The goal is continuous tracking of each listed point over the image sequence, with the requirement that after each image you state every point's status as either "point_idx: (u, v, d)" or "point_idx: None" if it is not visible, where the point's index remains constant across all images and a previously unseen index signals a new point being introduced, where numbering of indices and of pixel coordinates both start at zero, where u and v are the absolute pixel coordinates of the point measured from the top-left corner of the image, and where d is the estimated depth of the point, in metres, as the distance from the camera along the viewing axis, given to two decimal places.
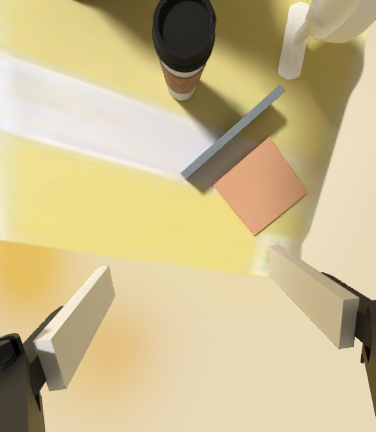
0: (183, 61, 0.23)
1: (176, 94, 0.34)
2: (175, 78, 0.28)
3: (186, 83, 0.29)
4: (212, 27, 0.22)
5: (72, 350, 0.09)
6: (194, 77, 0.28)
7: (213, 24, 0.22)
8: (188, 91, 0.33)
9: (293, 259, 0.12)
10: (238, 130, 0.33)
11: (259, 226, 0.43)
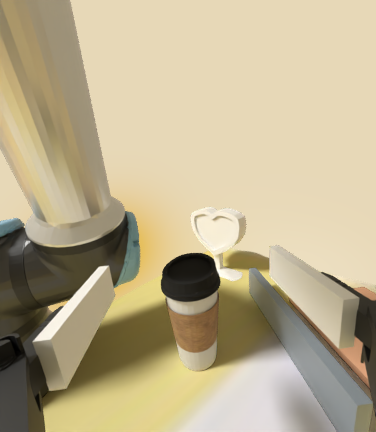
0: (212, 278, 0.23)
1: (209, 353, 0.25)
2: (209, 313, 0.23)
3: (216, 313, 0.24)
4: (205, 255, 0.27)
5: (72, 350, 0.09)
6: (218, 299, 0.25)
7: (203, 254, 0.27)
8: None
9: (293, 259, 0.12)
10: (282, 300, 0.28)
11: None
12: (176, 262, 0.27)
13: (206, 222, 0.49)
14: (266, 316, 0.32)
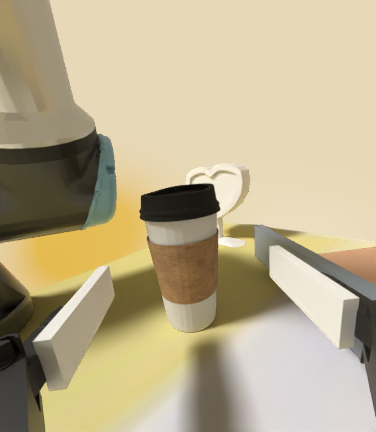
0: (209, 195, 0.16)
1: (206, 307, 0.18)
2: (205, 244, 0.16)
3: (215, 252, 0.18)
4: None
5: (72, 350, 0.09)
6: None
7: None
8: (216, 280, 0.19)
9: (293, 259, 0.12)
10: (300, 246, 0.22)
11: None
12: (163, 193, 0.21)
13: None
14: None
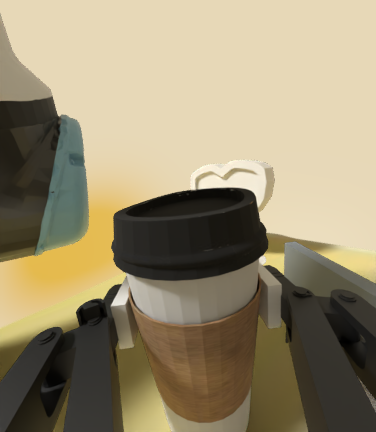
0: (252, 215, 0.08)
1: (238, 418, 0.10)
2: (244, 317, 0.08)
3: None
4: None
5: (134, 318, 0.10)
6: (258, 282, 0.10)
7: (218, 188, 0.12)
8: None
9: None
10: None
11: None
12: (159, 205, 0.12)
13: (213, 184, 0.34)
14: None
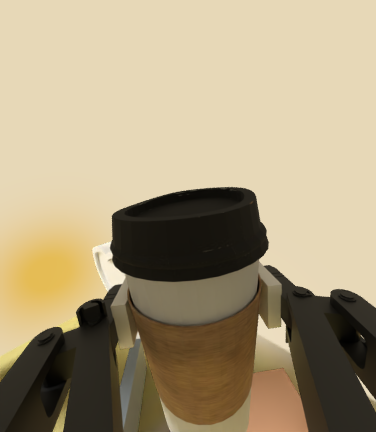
0: (252, 216, 0.08)
1: (238, 420, 0.10)
2: (244, 318, 0.08)
3: None
4: (221, 187, 0.12)
5: None
6: None
7: None
8: None
9: None
10: None
11: None
12: (158, 205, 0.12)
13: (106, 262, 0.38)
14: None
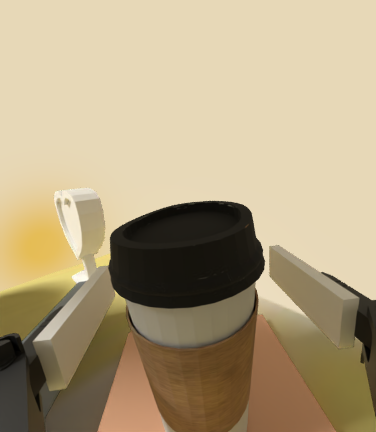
0: (248, 238, 0.08)
1: None
2: (240, 339, 0.08)
3: None
4: (219, 201, 0.12)
5: (72, 350, 0.09)
6: (255, 298, 0.10)
7: (216, 201, 0.12)
8: None
9: (293, 259, 0.12)
10: None
11: None
12: (157, 218, 0.12)
13: (66, 210, 0.33)
14: None
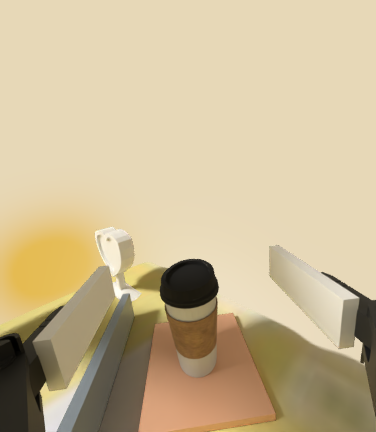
0: (210, 285, 0.23)
1: (208, 359, 0.25)
2: (207, 319, 0.23)
3: (215, 319, 0.25)
4: (203, 261, 0.27)
5: (72, 350, 0.09)
6: None
7: (202, 260, 0.28)
8: (216, 337, 0.26)
9: (293, 259, 0.12)
10: (110, 335, 0.28)
11: (258, 391, 0.23)
12: (175, 268, 0.28)
13: (105, 243, 0.48)
14: None
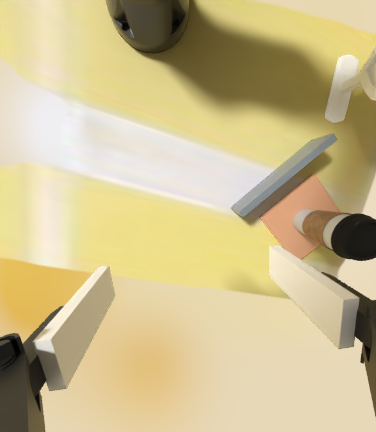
0: None
1: None
2: (330, 249, 0.35)
3: None
4: None
5: (72, 350, 0.09)
6: None
7: None
8: None
9: (293, 259, 0.12)
10: (293, 174, 0.36)
11: (301, 255, 0.46)
12: (372, 222, 0.29)
13: None
14: (285, 162, 0.41)
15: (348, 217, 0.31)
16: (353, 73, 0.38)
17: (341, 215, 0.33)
